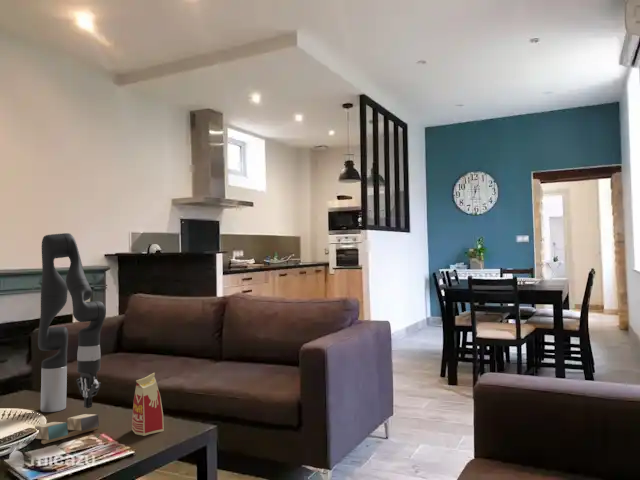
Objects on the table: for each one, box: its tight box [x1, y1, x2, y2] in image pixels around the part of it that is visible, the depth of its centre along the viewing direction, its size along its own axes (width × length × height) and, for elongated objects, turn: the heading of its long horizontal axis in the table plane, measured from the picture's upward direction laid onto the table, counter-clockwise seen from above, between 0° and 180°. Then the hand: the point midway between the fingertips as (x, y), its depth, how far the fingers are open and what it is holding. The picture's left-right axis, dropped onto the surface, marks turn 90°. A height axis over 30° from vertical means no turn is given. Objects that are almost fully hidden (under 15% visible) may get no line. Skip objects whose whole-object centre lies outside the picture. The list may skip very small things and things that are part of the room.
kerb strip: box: [40, 425, 100, 445], centre depth 173 cm, size 2×19×1 cm, turn 143°
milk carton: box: [131, 372, 165, 437], centre depth 178 cm, size 9×9×20 cm
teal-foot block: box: [34, 421, 69, 440], centre depth 170 cm, size 4×6×10 cm
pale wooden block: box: [66, 413, 100, 431], centre depth 179 cm, size 4×6×10 cm
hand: (88, 407), depth 177 cm, fingers closed
